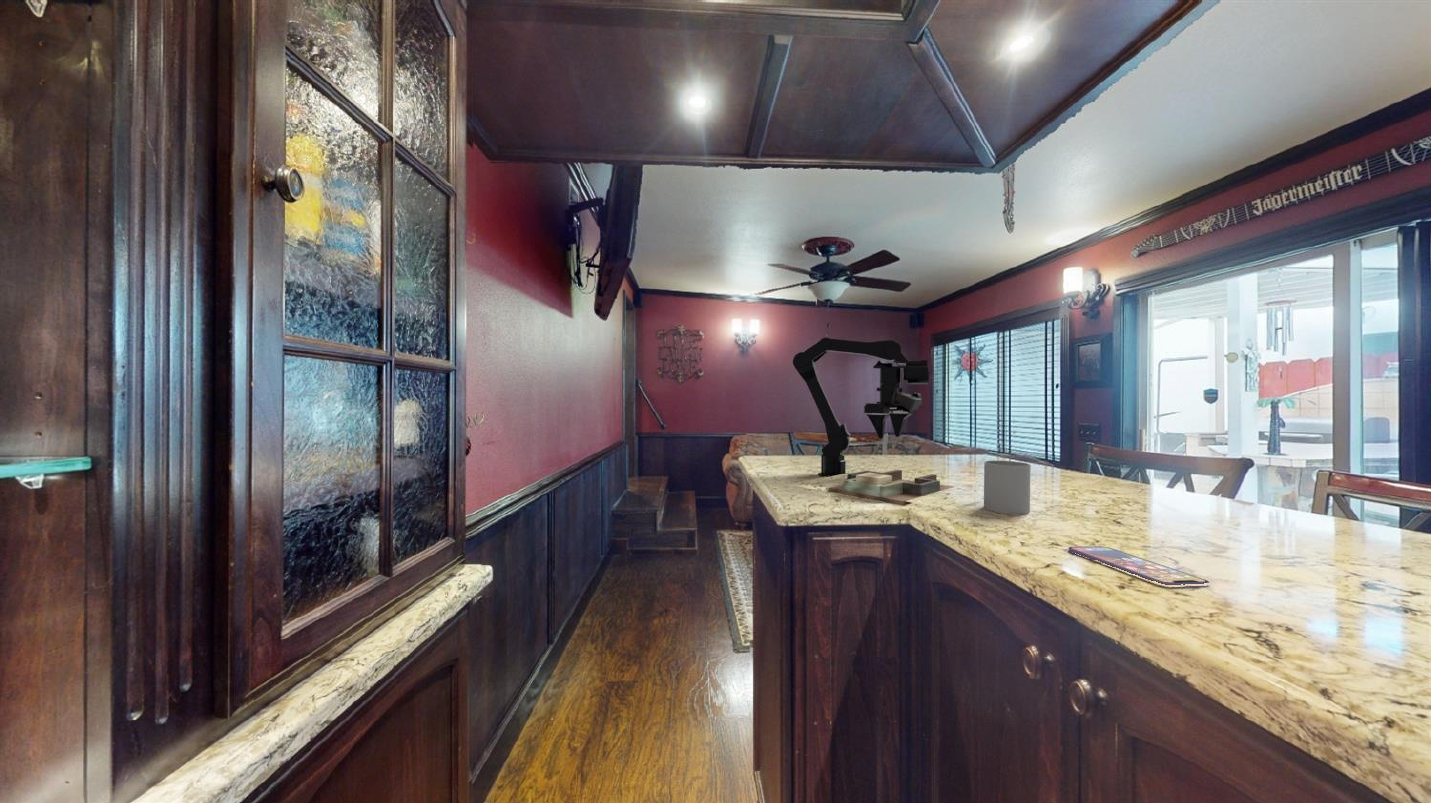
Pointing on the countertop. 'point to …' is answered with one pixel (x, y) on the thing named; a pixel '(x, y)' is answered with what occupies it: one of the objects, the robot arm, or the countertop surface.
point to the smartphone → (1137, 566)
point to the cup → (1007, 487)
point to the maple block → (874, 478)
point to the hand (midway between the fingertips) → (889, 437)
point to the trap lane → (890, 488)
